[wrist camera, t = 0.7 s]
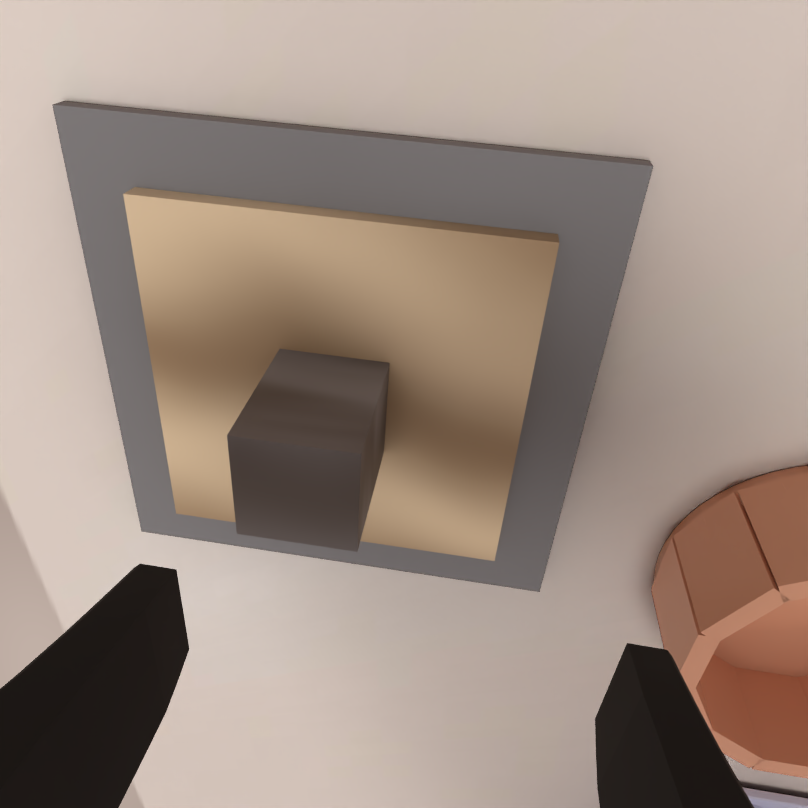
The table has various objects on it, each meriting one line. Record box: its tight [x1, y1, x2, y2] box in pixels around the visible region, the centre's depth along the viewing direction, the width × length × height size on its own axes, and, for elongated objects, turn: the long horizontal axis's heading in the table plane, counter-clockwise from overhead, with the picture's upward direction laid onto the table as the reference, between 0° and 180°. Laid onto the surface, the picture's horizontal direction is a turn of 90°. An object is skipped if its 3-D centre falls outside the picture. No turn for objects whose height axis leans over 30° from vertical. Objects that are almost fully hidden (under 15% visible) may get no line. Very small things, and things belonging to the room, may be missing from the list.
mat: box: [53, 101, 653, 592], centre depth 19 cm, size 14×14×1 cm
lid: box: [123, 187, 559, 561], centre depth 17 cm, size 10×10×5 cm
